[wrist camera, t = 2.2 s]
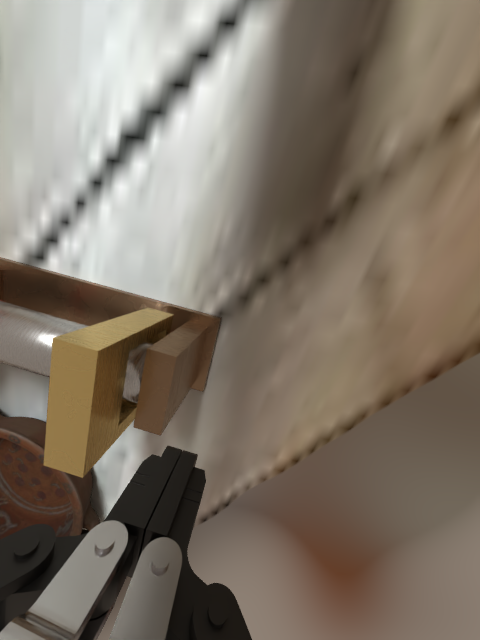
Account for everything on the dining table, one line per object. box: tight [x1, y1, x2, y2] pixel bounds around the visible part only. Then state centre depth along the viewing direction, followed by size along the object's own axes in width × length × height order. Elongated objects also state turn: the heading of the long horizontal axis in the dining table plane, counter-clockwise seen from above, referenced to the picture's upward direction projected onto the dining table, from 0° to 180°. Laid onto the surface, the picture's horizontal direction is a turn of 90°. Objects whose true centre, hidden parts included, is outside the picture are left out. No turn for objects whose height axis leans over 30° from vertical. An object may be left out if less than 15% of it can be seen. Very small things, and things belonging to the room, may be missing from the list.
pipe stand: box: [0, 257, 221, 435], centre depth 21 cm, size 26×8×9 cm, turn 76°
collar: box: [44, 308, 174, 478], centre depth 17 cm, size 2×8×10 cm, turn 166°
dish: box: [0, 414, 100, 539], centre depth 28 cm, size 18×22×5 cm
